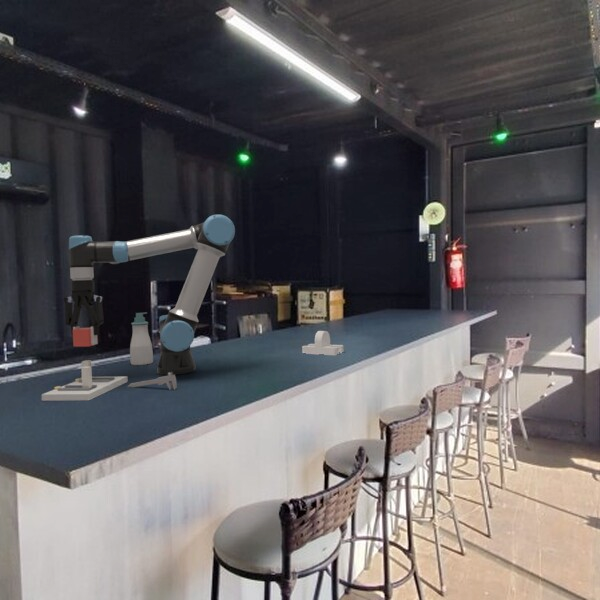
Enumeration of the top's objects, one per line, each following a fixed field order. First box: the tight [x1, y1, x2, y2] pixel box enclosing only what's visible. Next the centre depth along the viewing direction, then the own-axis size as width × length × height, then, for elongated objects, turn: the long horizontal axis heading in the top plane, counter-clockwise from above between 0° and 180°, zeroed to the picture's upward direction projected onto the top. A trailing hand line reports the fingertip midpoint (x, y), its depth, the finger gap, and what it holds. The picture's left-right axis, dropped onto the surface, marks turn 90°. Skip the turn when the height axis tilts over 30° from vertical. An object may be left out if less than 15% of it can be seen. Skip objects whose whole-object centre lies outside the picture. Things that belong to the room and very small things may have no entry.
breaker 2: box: [81, 365, 93, 388], centre depth 156 cm, size 2×2×7 cm
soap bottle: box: [129, 312, 154, 366], centre depth 211 cm, size 10×10×23 cm
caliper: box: [127, 372, 178, 391], centre depth 163 cm, size 20×1×6 cm, turn 69°
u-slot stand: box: [301, 330, 344, 356], centre depth 224 cm, size 10×18×11 cm, turn 62°
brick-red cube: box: [72, 327, 99, 347], centre depth 168 cm, size 6×6×6 cm
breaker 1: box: [81, 359, 93, 373], centre depth 169 cm, size 2×2×7 cm
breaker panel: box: [41, 376, 129, 402], centre depth 163 cm, size 16×26×3 cm, turn 174°
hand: (85, 344), depth 168 cm, fingers closed on brick-red cube, 6 cm apart
